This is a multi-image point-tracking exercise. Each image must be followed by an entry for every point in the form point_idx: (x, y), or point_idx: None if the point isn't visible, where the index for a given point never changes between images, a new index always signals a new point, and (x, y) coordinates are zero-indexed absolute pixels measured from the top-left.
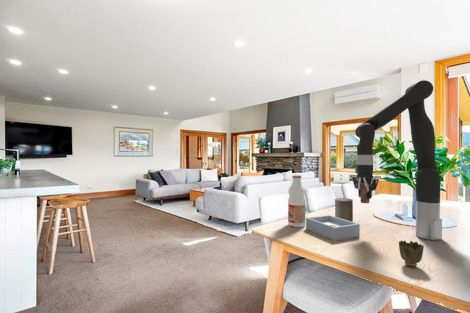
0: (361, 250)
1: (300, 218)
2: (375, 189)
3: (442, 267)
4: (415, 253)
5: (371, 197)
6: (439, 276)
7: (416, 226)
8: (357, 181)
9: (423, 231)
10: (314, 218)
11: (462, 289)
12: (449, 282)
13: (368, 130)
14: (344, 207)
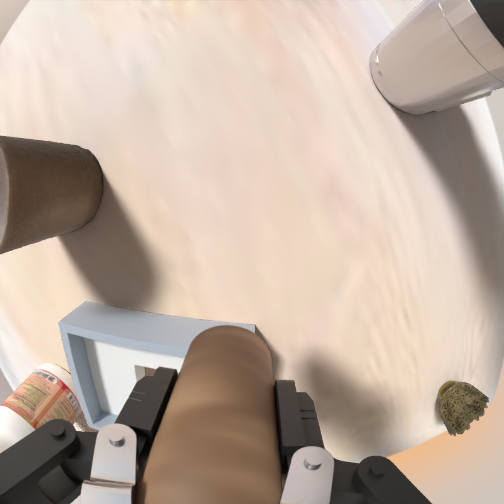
0: (340, 418)
1: (73, 419)
2: (389, 466)
3: (487, 335)
4: (469, 415)
5: (307, 395)
6: (480, 377)
7: (404, 83)
8: (18, 501)
9: (429, 107)
10: (87, 402)
11: (496, 384)
12: (487, 382)
13: None
14: (34, 233)
